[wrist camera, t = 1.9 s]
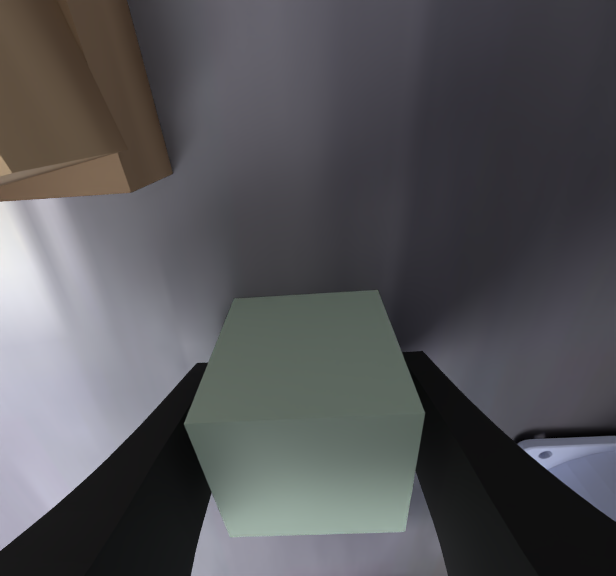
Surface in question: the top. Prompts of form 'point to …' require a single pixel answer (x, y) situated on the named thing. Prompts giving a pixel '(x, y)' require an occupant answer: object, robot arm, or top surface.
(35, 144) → the tower top
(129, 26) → the tower base
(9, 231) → the top surface
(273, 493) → the block
